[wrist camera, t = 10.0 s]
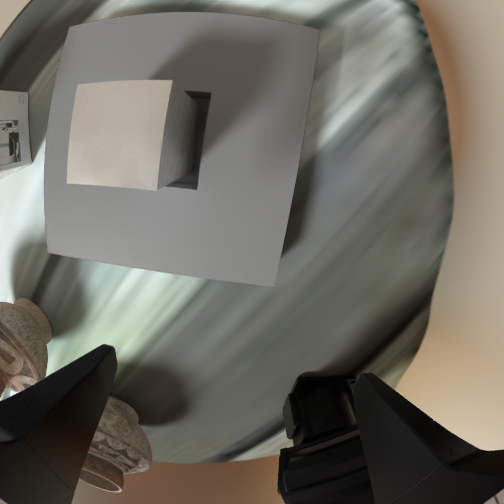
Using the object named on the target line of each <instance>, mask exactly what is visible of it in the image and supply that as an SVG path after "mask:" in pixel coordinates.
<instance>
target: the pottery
mask: <svg viewBox="0 0 504 504" xmlns="http://www.w3.org/2000/svg"><path fill="white" fill-rule="evenodd" d="M51 338H52V329H51V326H50V323H49V321H48V319H47V317H46V315H45V314H44V312H43V311H42V310H41V309H40V308H39V307H38V306H37V305H36V304H35V303H33V302H32V301H31V300H29V299H27V298H22V297H21V298H18V299H17V300H16V301H15V302H14V304H12V303H7V302H0V397H1V395H2V393H3V391H4V389H5V388H7V389H10V390H13V391H16V392H21V391H22V390H24V389H26V388H28V387H30V386H31V385H34V384H35V383H37V382H38V381H40V380H42V379H44V378H45V376H46V370H47V363H48V353H47V346H46V344H47V343H49V342H50V340H51ZM138 421H139V418H138V415H137V413H136V412H135V410H134V409H133V408H132V407H130V406H129V405H128V404H126V403H125V402H123V401H121V400H119V399H117V398H114V397H111V396H109V398H108V401H107V404H106V407H105V409H104V412H103V414H102V417H101V419H100V422H99V424H98V427H97V429H96V432H95V435H94V437H93V440H92V443H91V445H90V448H89V451H88V454H87V456H86V459H85V462H84V465H83V468H82V471H81V474H80V477H79V479H80V480H82V481H84V482H86V483H88V484H90V485H92V486H94V487H97V488H100V489H103V490H106V491H110V492H121V491H122V488H123V483H124V480H123V474H131V473H137V472H141V471H146V470H148V469H150V468H151V466H152V452H151V447H150V444H149V441H148V439H147V437H146V435H145V433H144V432H143V430H142V428H141V427H140V426H139V424H138Z"/></svg>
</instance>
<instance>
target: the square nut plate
mask: <svg viewBox="0 0 504 504" xmlns="http://www.w3.org/2000/svg"><path fill="white" fill-rule="evenodd" d="M319 35H320V30H319V29H315V28H311V27H307V26H303V25H299V24H294V23H290V22H285V21H279V20H274V19H268V18H262V17H255V16H247V15H238V14H227V13H211V12H165V13H149V14H138V15H129V16H122V17H115V18H109V19H103V20H98V21H93V22H88V23H84V24H79V25H75V26H71V27H69V30H68V33H67V36H66V39H65V43H64V46H63V50H62V53H61V57H60V61H59V65H58V69H57V73H56V78H55V82H54V87H53V93H52V98H51V104H50V111H49V118H48V126H47V135H46V147H45V164H44V209H45V227H46V239H47V249H48V253H52V254H57V255H63V256H68V257H74V258H79V259H85V260H90V261H96V262H102V263H108V264H114V265H120V266H126V267H132V268H138V269H145V270H151V271H158V272H164V273H171V274H178V275H185V276H192V277H199V278H206V279H214V280H221V281H229V282H237V283H245V284H253V285H262V286H270V287H274V285H275V281H276V276H277V272H278V267H279V262H280V257H281V253H282V248H283V243H284V238H285V233H286V228H287V223H288V218H289V213H290V208H291V203H292V198H293V193H294V187H295V182H296V177H297V171H298V166H299V160H300V155H301V149H302V144H303V138H304V132H305V126H306V120H307V114H308V108H309V102H310V96H311V90H312V83H313V77H314V70H315V64H316V57H317V50H318V43H319ZM125 80H173V81H174V82H175V83H176V84H177V85H178V86H179V87H180V88H181V89H182V90H183V91H185V92H186V93H187V94H188V95H189V96H190V97H191V98H192V99H193V100H194V101H195V102H196V103H197V104H198V105H199V106H200V107H201V108H202V109H203V111H202V117H201V123H200V129H199V136H198V142H197V149H196V156H195V163H194V171H192V172H190V173H189V174H187V175H185V176H183V177H181V178H179V179H177V180H175V181H174V182H172V183H170V184H168V185H166V186H164V187H163V188H161V189H159V190H157V191H154V190H144V189H134V188H123V187H111V186H99V185H85V184H68V183H67V163H68V149H69V138H70V129H71V121H72V114H73V107H74V101H75V96H76V90H77V85H78V84H86V83H96V82H108V81H125Z"/></svg>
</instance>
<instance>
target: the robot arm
mask: <svg viewBox="0 0 504 504" xmlns="http://www.w3.org/2000/svg"><path fill="white" fill-rule="evenodd" d="M116 370H117V358H116V353H115V348H114V347H113V346H110V345H106V344H102V345H101V346H99V347H97V348H95V349H94V350H92V351H90V352H89V353H87V354H85V355H83V356H82V357H80V358H78V359H76V360H75V361H73V362H71V363H70V364H68V365H66V366H64V367H63V368H61V369H59V370H57V371H56V372H54V373H52V374H51V375H49V376H47V377H45V378H44V379H42V380H40V381H38V382H37V383H35V384H34V385H31V386H30V387H28V388H26V389H24V390H22V391H21V392H19V393H17V394H15V395H13V396H10V397H8V398H6V399H4V400H2V401H0V504H71V503H72V500H73V496H74V491H75V489H76V486H77V483H78V480H79V477H80V474H81V471H82V468H83V465H84V462H85V459H86V456H87V454H88V451H89V448H90V445H91V443H92V440H93V437H94V435H95V432H96V429H97V427H98V424H99V422H100V419H101V417H102V414H103V412H104V409H105V407H106V404H107V401H108V398H109V394H110V391H111V387H112V384H113V380H114V377H115V374H116ZM353 388H354V389H353ZM352 390H353V393H352ZM283 416H284V420H285V427H286V434H287V438H288V439H293V444H294V446H293V447H289V448H283V449H281V450H280V457H279V473H278V489H277V491H278V494H280V495H281V496H282V498H283V500H284V502H285V503H286V504H504V450H495V451H485V450H481V449H478V448H476V447H475V446H473V445H471V444H469V443H468V442H466V441H464V440H463V439H461V438H459V437H458V436H456V435H455V434H453V433H451V432H450V431H448V430H447V429H445V428H444V427H443V426H441V425H440V424H439V423H437V422H436V421H433V419H432V418H430V417H429V416H428V415H427V414H425V413H424V412H423V411H421V410H420V409H419V408H417V407H416V406H415V405H413V404H412V403H411V402H409V401H408V400H407V399H405V398H404V397H403V396H402V395H400V394H399V393H398V392H396V391H395V390H394V389H392V388H391V387H390V386H389V385H387V384H386V383H385V382H383V381H382V380H381V379H380V378H378V377H377V376H376V375H374V374H373V373H362V374H361V375H360V377H359V379H358V381H357V378H356V377H355V376H344V377H299V378H297V380H296V382H295V384H294V387H293V389H292V392H291V393H290V394H289V395H288V397H287V399H286V401H285V404H284V406H283Z"/></svg>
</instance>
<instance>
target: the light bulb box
mask: <svg viewBox="0 0 504 504" xmlns="http://www.w3.org/2000/svg"><path fill="white" fill-rule="evenodd" d="M31 163H32V161H31V152H30V140H29V122H28V93H27V92H16V91H3V90H0V178H2V177H5V176H7V175H9V174H11V173H13V172H15V171H17V170H20V169H22V168H24V167H27V166H29V165H31Z"/></svg>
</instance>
